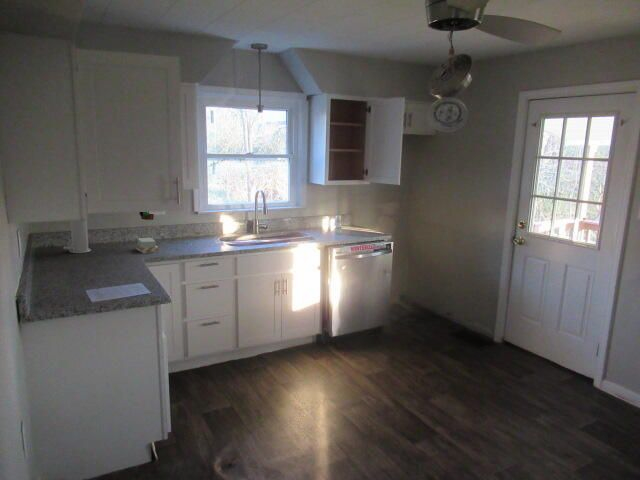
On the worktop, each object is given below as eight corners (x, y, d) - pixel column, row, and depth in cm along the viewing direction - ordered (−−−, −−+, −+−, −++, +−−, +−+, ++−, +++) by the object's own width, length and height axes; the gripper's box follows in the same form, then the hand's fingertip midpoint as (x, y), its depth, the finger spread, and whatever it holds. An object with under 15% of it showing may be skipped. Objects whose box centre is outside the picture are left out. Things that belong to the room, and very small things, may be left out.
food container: (135, 218, 317) (135, 203, 315) (142, 217, 322) (143, 202, 320) (147, 220, 310) (147, 205, 309) (154, 219, 316) (154, 205, 314)
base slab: (143, 254, 312) (143, 248, 311) (136, 249, 323) (136, 244, 322) (158, 252, 318) (158, 246, 318) (150, 248, 329) (150, 243, 328)
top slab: (141, 247, 312) (141, 241, 311) (137, 244, 323) (137, 238, 322) (155, 247, 317) (155, 241, 316) (151, 243, 327) (151, 237, 327)
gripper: (135, 189, 304) (135, 217, 308) (160, 189, 316) (161, 215, 319) (131, 188, 310) (131, 215, 313) (156, 188, 321) (156, 214, 325)
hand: (146, 215), depth 316 cm, fingers closed on food container, 5 cm apart
